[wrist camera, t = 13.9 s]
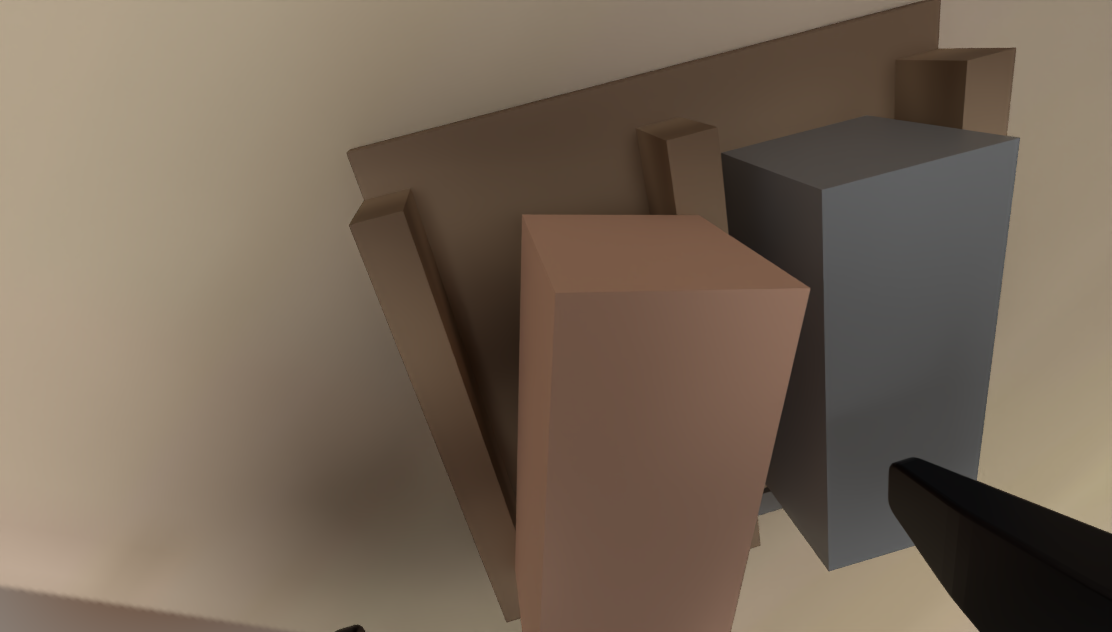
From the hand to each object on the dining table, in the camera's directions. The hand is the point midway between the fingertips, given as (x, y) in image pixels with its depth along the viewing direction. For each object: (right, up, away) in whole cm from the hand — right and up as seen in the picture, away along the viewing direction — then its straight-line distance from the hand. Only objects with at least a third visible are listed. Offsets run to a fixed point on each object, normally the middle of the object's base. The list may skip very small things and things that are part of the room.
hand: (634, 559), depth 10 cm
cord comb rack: (+2, +3, +6) cm, 7 cm away
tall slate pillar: (+5, +4, +6) cm, 9 cm away
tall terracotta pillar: (0, +2, +3) cm, 4 cm away
